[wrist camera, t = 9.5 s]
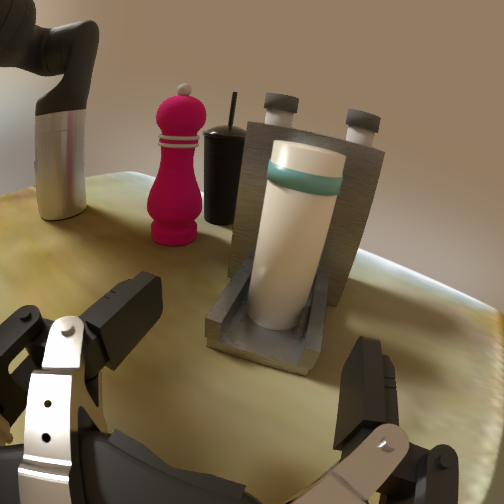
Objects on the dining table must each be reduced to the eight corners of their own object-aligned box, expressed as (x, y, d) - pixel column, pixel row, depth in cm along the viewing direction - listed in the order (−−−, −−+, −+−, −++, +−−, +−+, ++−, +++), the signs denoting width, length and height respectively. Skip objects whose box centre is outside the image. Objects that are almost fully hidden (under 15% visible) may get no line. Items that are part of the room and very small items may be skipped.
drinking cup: (191, 226, 39) (205, 87, 30) (198, 208, 46) (211, 92, 36) (243, 231, 40) (264, 93, 31) (242, 213, 47) (259, 97, 37)
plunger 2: (335, 175, 23) (349, 107, 20) (335, 170, 26) (347, 110, 23) (368, 184, 23) (383, 117, 20) (364, 178, 25) (377, 119, 22)
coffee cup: (236, 320, 22) (264, 141, 15) (254, 287, 26) (280, 139, 20) (297, 337, 21) (349, 160, 14) (305, 301, 25) (345, 153, 19)
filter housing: (183, 337, 20) (192, 118, 13) (246, 249, 35) (266, 123, 28) (330, 381, 18) (421, 168, 11) (337, 273, 33) (373, 147, 25)
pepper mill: (161, 221, 39) (170, 86, 30) (206, 229, 39) (222, 87, 29) (138, 242, 33) (144, 81, 23) (189, 252, 32) (205, 80, 23)
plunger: (252, 156, 25) (262, 91, 22) (261, 154, 28) (270, 95, 24) (285, 163, 24) (296, 96, 21) (290, 159, 27) (300, 100, 24)
